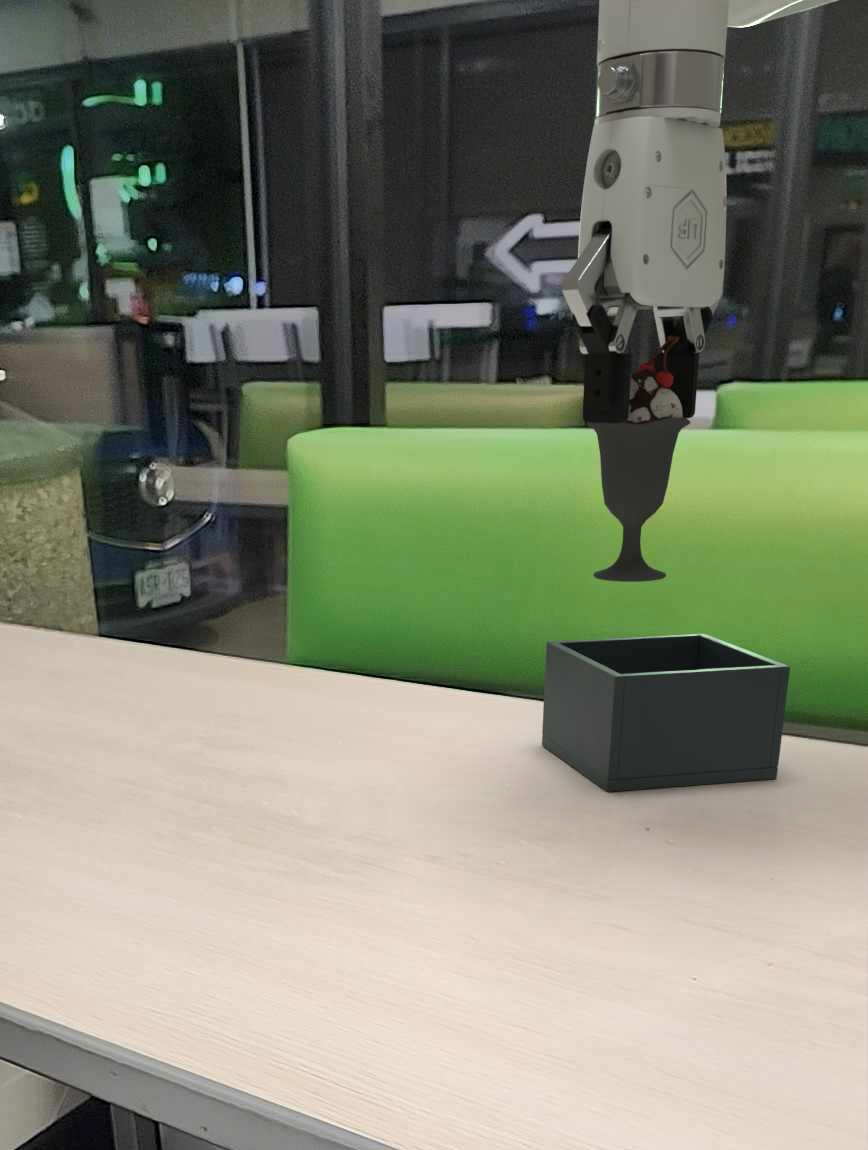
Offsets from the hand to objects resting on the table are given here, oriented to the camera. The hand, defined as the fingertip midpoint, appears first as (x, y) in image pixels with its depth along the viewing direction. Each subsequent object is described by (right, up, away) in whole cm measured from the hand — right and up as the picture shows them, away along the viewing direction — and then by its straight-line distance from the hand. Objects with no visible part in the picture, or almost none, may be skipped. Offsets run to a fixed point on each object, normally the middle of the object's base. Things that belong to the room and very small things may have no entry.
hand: (639, 417), depth 87 cm
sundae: (0, -9, +4) cm, 10 cm away
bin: (+6, -19, +24) cm, 31 cm away
